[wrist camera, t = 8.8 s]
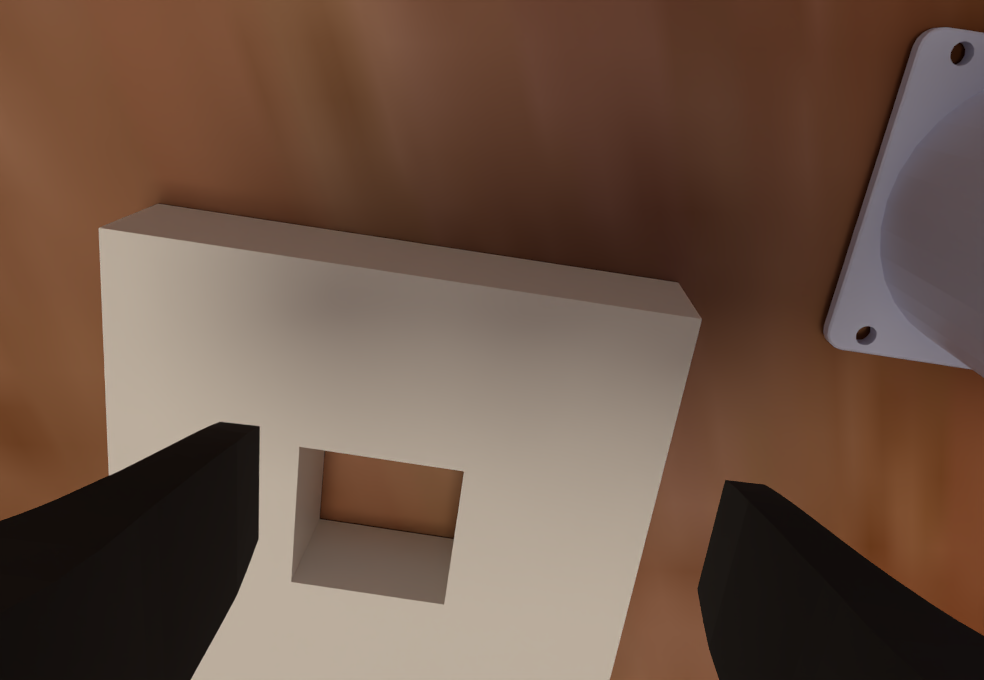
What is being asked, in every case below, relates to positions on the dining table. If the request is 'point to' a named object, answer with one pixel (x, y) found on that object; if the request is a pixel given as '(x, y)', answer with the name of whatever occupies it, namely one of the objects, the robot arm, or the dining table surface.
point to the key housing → (404, 436)
